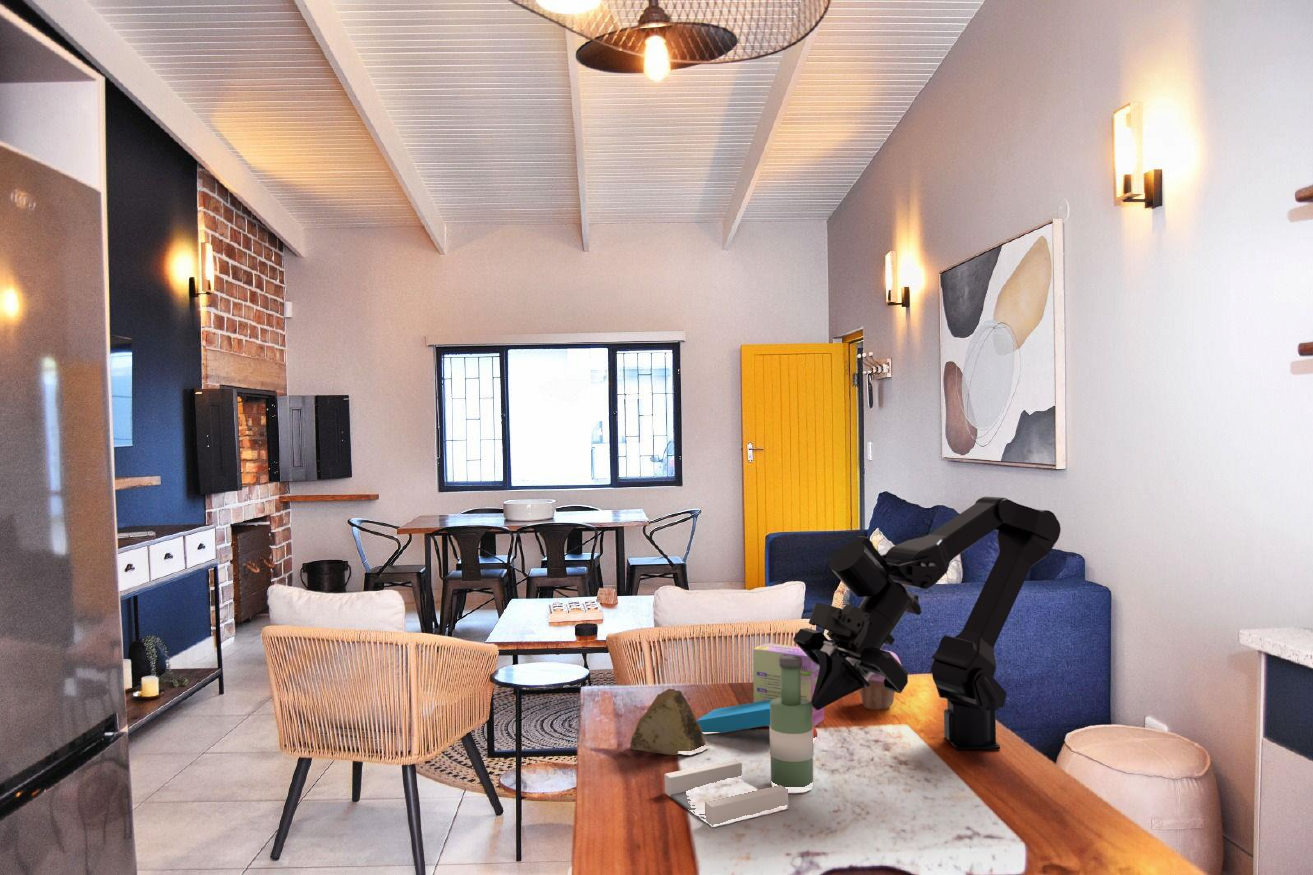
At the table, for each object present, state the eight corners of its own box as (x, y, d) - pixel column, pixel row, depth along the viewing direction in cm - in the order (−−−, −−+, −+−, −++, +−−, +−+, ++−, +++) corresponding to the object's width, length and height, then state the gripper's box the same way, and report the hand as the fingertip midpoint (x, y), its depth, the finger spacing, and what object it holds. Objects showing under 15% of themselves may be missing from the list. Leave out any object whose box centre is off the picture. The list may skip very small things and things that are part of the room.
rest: (735, 777, 121) (735, 759, 121) (788, 809, 110) (787, 789, 110) (664, 793, 116) (664, 773, 116) (712, 828, 105) (712, 807, 105)
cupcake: (849, 698, 157) (848, 642, 157) (899, 699, 156) (898, 643, 156) (853, 713, 148) (852, 654, 149) (906, 715, 147) (905, 655, 147)
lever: (707, 765, 139) (811, 751, 130) (695, 720, 140) (798, 703, 131) (725, 752, 145) (826, 737, 136) (714, 709, 146) (814, 692, 137)
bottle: (810, 777, 121) (809, 652, 121) (817, 794, 115) (815, 663, 115) (768, 777, 121) (766, 653, 121) (772, 794, 115) (770, 663, 115)
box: (825, 720, 145) (824, 648, 145) (812, 730, 141) (810, 655, 141) (768, 710, 151) (766, 641, 151) (753, 720, 146) (752, 648, 146)
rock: (610, 738, 131) (657, 743, 124) (630, 684, 136) (677, 686, 129) (656, 767, 137) (703, 774, 130) (673, 714, 141) (721, 718, 134)
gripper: (802, 573, 131) (740, 656, 126) (890, 590, 114) (822, 687, 109) (845, 620, 134) (787, 704, 129) (936, 644, 118) (873, 741, 112)
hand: (814, 707), depth 120 cm, fingers closed
